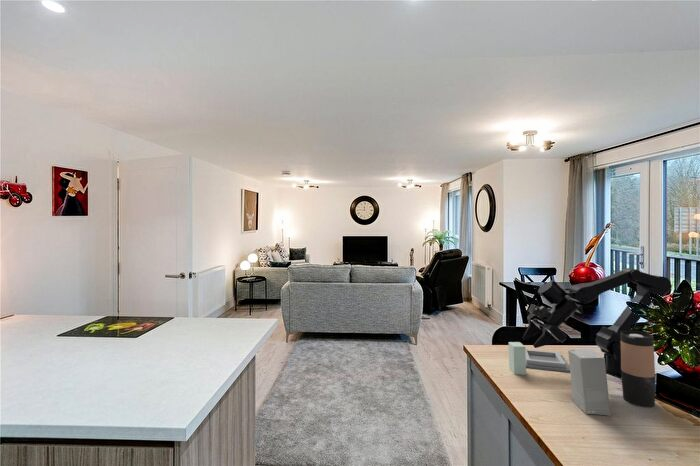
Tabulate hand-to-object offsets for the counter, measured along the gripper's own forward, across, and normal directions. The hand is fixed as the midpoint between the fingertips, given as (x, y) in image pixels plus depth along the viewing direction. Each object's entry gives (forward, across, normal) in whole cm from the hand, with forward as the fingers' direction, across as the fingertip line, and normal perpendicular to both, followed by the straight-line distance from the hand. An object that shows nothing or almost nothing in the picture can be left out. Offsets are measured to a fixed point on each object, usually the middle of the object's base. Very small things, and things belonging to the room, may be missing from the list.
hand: (528, 342), depth 122 cm
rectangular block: (+10, 0, +5) cm, 12 cm away
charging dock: (+1, -10, +14) cm, 17 cm away
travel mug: (-9, +20, +24) cm, 32 cm away
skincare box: (+3, +25, +12) cm, 28 cm away
